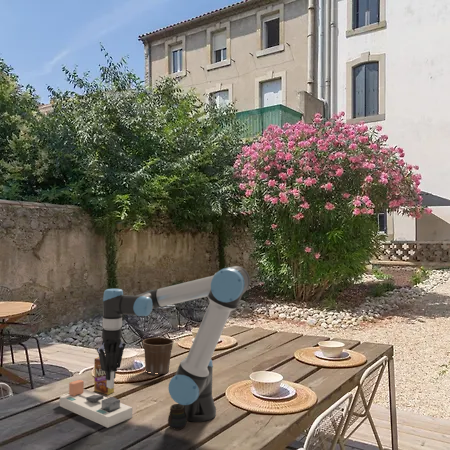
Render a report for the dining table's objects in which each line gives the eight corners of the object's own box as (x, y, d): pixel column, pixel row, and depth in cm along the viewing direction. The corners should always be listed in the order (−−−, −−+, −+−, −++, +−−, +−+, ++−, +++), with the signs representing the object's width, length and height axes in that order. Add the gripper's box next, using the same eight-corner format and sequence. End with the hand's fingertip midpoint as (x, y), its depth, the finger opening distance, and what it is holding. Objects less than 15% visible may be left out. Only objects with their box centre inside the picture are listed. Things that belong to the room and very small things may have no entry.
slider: (83, 392, 193) (83, 381, 193) (73, 396, 189) (73, 384, 189) (79, 391, 195) (79, 379, 195) (69, 394, 191) (69, 382, 191)
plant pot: (176, 367, 243) (176, 337, 243) (169, 377, 227) (170, 345, 227) (146, 366, 244) (147, 336, 244) (138, 375, 228) (138, 344, 228)
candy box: (93, 391, 206) (93, 358, 206) (100, 388, 210) (100, 356, 210) (107, 395, 202) (108, 361, 202) (114, 392, 205) (115, 359, 205)
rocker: (103, 400, 184) (103, 395, 184) (95, 403, 180) (95, 398, 181) (94, 399, 187) (94, 394, 187) (86, 402, 184) (86, 397, 184)
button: (119, 408, 178) (119, 399, 178) (109, 412, 174) (109, 403, 174) (111, 405, 181) (111, 396, 181) (101, 409, 177) (101, 400, 177)
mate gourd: (187, 423, 175) (187, 397, 175) (186, 432, 167) (186, 405, 167) (168, 422, 174) (169, 397, 174) (166, 432, 167) (167, 405, 167)
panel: (132, 417, 179) (132, 406, 179) (107, 427, 169) (107, 416, 169) (83, 397, 198) (84, 388, 198) (59, 406, 189) (59, 396, 189)
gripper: (118, 324, 185) (117, 380, 185) (92, 329, 175) (90, 389, 175) (131, 327, 181) (129, 385, 181) (104, 332, 170) (102, 394, 170)
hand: (110, 387), depth 178 cm, fingers closed
